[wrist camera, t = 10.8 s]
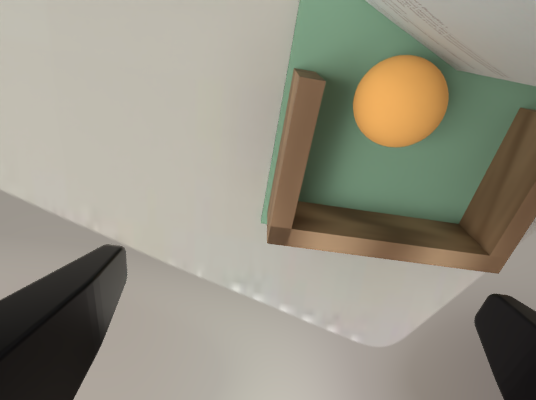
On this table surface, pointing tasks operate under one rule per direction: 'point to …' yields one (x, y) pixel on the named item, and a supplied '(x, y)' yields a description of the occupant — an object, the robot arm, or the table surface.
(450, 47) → the supplement box
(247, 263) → the table surface
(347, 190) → the pitch mat
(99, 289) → the robot arm
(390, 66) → the ball
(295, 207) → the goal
